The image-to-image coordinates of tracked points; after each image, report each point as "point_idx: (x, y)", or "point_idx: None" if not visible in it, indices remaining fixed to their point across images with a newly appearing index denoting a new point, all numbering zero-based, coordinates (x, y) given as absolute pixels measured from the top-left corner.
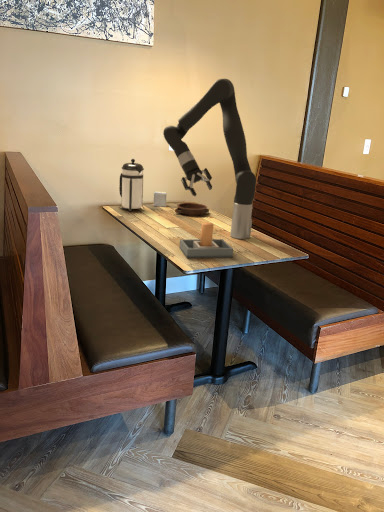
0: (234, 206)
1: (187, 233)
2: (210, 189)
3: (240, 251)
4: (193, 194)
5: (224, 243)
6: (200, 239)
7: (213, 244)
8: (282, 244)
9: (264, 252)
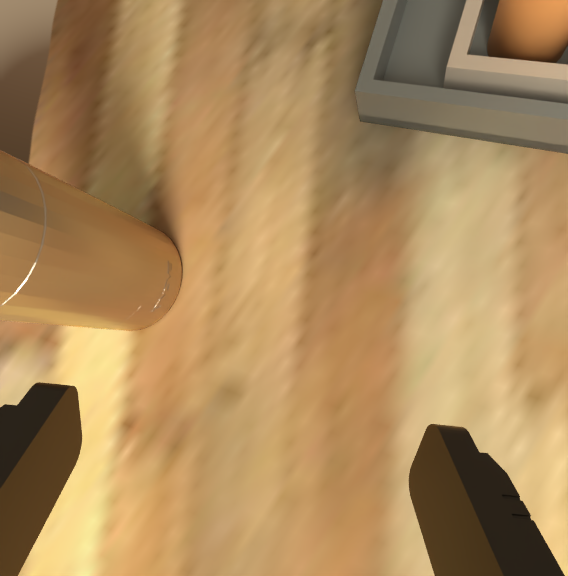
0: (21, 235)
1: (410, 465)
2: (74, 412)
3: (301, 43)
4: (493, 463)
5: (391, 22)
6: (521, 109)
7: (478, 13)
8: (38, 105)
9: (198, 13)
